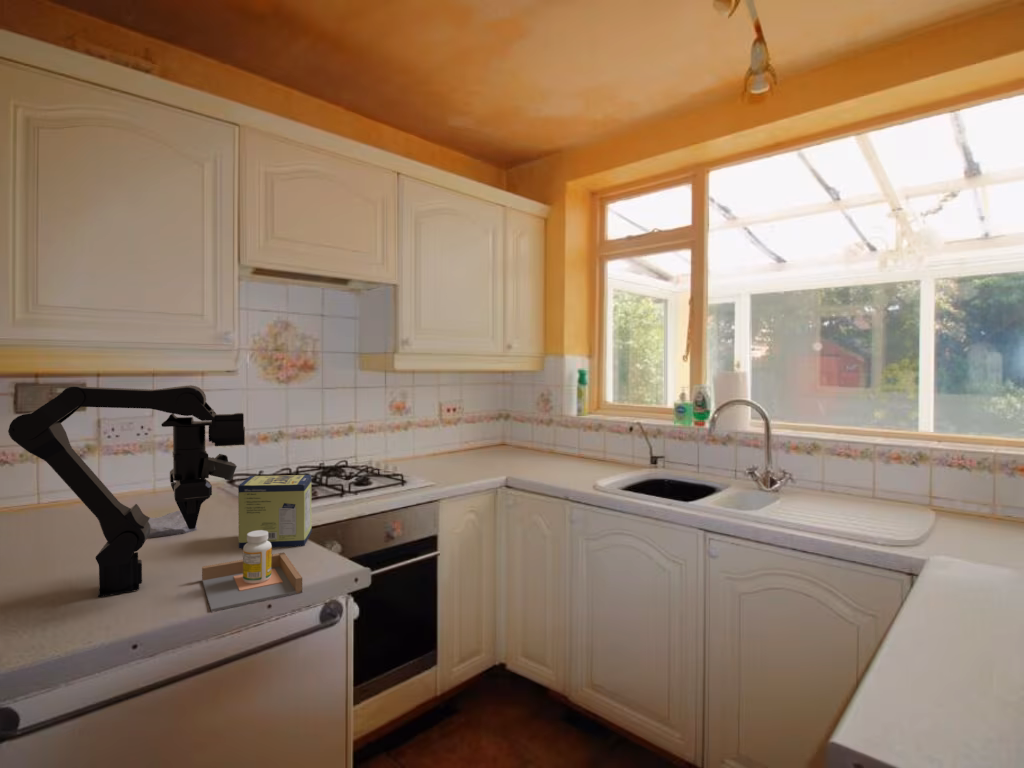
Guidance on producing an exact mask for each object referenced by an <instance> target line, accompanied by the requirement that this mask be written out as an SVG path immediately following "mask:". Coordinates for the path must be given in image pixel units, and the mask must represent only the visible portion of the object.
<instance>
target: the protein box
mask: <svg viewBox="0 0 1024 768" xmlns="http://www.w3.org/2000/svg"><path fill="white" fill-rule="evenodd" d="M237 487H238V490H237V492H238V501H237V503H238V504H237V505H238V549H243V547H244V545H245V544H246V543H248V542H247V534H248V533H249V532H252V531H257V530H264V531H267V532H268V540H267V541H269V542H270V543H271V545H272V548H287V547H304V546H306V544H307V542H308V540H309V538H310V536H311V534H312V533H313V529H312V526H313V525H312V475H311V474H297V475H296V474H294V475H292V474H291V475H250V476H248V477H247V478H246V479H245V480H243V481H242V482H241V483H240V484H238V486H237Z"/></svg>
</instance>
